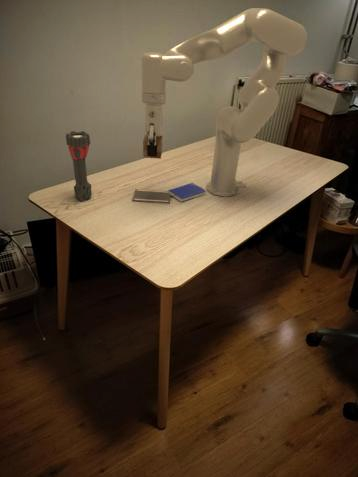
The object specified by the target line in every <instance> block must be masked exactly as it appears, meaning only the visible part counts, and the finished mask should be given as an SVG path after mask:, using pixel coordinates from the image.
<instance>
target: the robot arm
mask: <svg viewBox="0 0 358 477" xmlns="http://www.w3.org/2000/svg"><path fill="white" fill-rule="evenodd" d="M307 41H308V33H307V30H306V28H305V27H304V26H303V25H302V24H300V23H299V22H297V21H295V20H292V19H290V18H288V17H286V16H284V15H283V14H280V13H278V12H276V11H273V10H272V9H269V8H263V7H262V8H261V7H260V8H259V7H251V8H248V9H246V10H244V11H242V12H240V13H239V14H236V15H235V16H232V17H231V18H230V19H228V20H226V21H225V22H223V23H221V24H219V25H217V26H216V27H214V28H212V29H211V30H207V31H205V32H203V33H201V34H199V35H196V36H193V37H191V38H189V39H187V40H184V41H183V42H181V43H179V44H177V45H176V46H175V47H172V48H170V49H169V50H167V51H166V52H165V53H164V54H163V53H161V52H154V51H153V52H144V53H143V54H142V56H141V103H142V104H144V106H145V108H144V109H145V111H144V112H145V113H144V114H145V118H144V119H145V122H144V123H145V135H147V136H148V144H147V156H151V157H156V156H157V145H156V138H157V136H159V137H160V136H162V132H163V105H165V104H166V94H167V81H171V82H177V83H183V82H186V81H188V80H190V79H191V78H192V77H193V74H194V72H195V71H194V70H195V67H194V66H195V65H196V64H199V63H201V62H202V63H203V62H205V61H215V60H220V59H223V58H226V57H228V56H229V55H231V54H233V53H234V52H236V51H238V50H240V49H241V48H244V47H245V46H246V45H248V44H250V43H252V42H254V43H259V44H262V46H263V51H262V52H263V54H262V58H261V59H262V60H261V61H260V63H259V65H258V66H257V68H256V69H255V70H254V72H253V73H252V74H251V76H250V77H249V78H248V80H247V81H246V82H245V83H244V84H243V86H242V88H241V89H240V90H239V92H238V95H237V100H238V103H239V105H240V106H241V107H242V108H244V109H243V110H242V109H240V108H238V107H235V106H232V105H229V106H227V105H226V106H225V107H222V109H220V110H219V111H218V113H217V115H216V118H215V144H214V152H213V160H212V168H211V177H210V181H209V182H207V183H206V185H205V190H206V192H208V193H209V194H212V195H214V196H218V197H231V196H234V195H236V194H237V192H238V189H240V188H241V189H247V183H246V182H245V183H244V182H243V180H242V181H241V180H239V181H238V180H237V179H236V178H237V171H238V166H239V160H240V154H241V145H242V144H245V143H248V142H250V141H251V140H252V139H253V138H254V137H255V136H256V135H257V134H258V132H260V130H261V129H262V128H263V126H265V124H266V123H267V122H268V121H269V120H270V119H271V117H272V116H273V114H274V113H275V111H276V109H277V107H278V106H279V102H280V100H279V99H280V97H279V93H278V90H277V89H276V88H275V86H277V84H278V83H279V81H280V80H281V78H282V76H283V74H284V73H285V68H286V60H287V58H286V56H287V57H293V56H296V55H298V54H300V53H301V52H302V51H303V50H304V48H305V46H306V43H307ZM153 137H155V140H154V139H153Z"/></svg>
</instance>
